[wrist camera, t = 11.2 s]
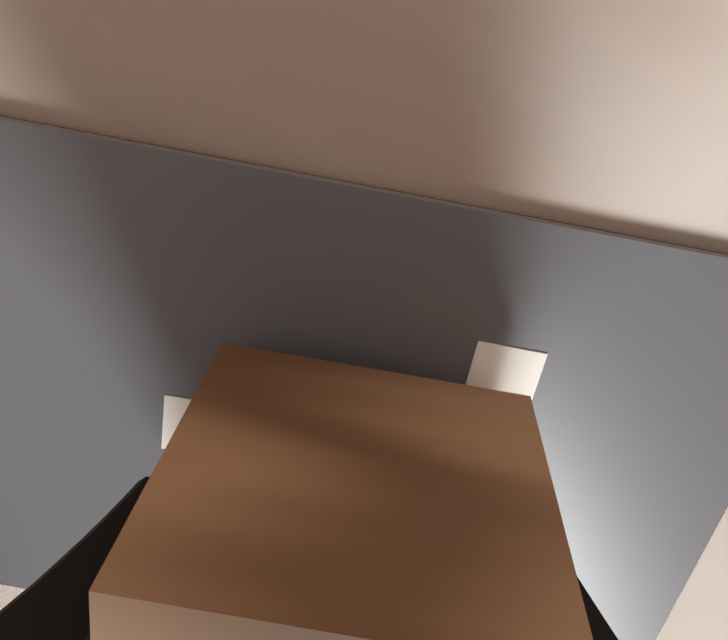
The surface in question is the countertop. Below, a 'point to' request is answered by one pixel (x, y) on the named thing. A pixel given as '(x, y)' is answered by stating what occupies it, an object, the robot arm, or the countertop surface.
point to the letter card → (348, 339)
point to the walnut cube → (342, 514)
